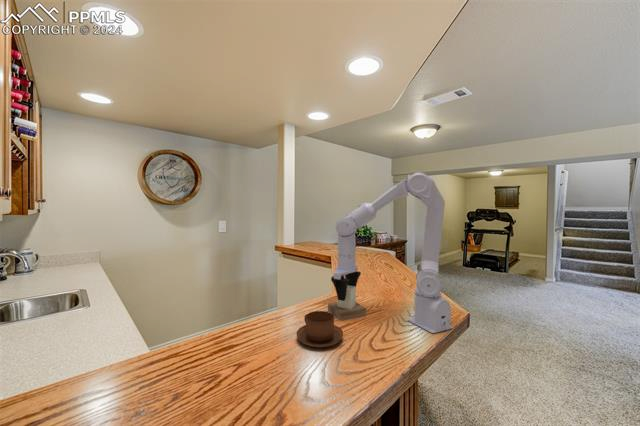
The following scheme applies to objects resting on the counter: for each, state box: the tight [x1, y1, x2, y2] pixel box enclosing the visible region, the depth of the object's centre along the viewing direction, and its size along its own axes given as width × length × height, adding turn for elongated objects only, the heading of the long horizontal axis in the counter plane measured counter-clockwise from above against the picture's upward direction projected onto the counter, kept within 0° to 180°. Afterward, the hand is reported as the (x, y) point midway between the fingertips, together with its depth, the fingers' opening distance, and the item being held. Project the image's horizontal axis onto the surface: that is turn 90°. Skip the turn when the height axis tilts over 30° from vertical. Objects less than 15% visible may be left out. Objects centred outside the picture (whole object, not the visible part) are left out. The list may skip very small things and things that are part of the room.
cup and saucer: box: [296, 310, 344, 348], centre depth 69 cm, size 12×12×6 cm
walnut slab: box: [327, 301, 367, 322], centre depth 86 cm, size 9×9×3 cm
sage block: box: [337, 285, 357, 309], centre depth 86 cm, size 4×4×6 cm
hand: (346, 296), depth 86 cm, fingers open, 7 cm apart
